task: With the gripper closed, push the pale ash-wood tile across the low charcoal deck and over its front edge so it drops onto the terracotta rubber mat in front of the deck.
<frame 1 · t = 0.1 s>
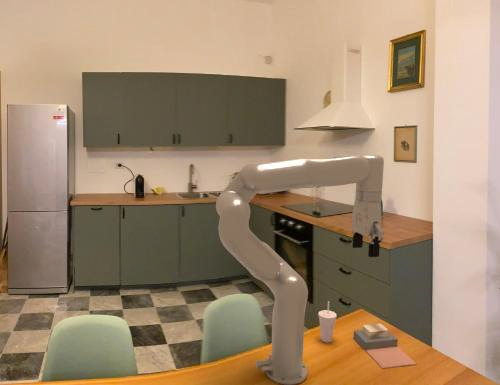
hand: (365, 251, 119), 37 cm above the table, tool pointing down, fingers open, 9 cm apart
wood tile: (375, 331, 137), point 4 cm above the table, touching deck
smoothie: (326, 340, 139), on the table
mat: (390, 357, 128), on the table
deck: (374, 342, 137), on the table
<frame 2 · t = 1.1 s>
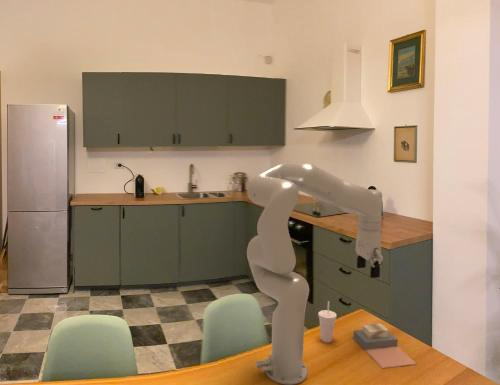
hand: (367, 272, 138), 24 cm above the table, tool pointing down, fingers open, 9 cm apart
nothing on the table moved.
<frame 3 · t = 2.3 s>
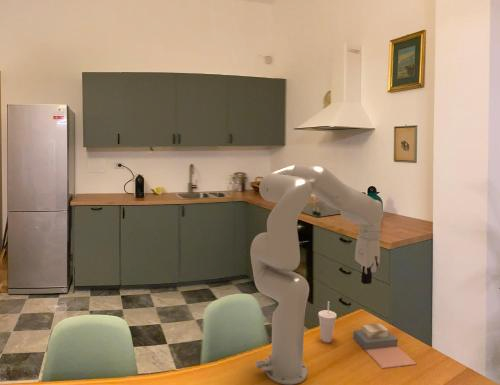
hand: (366, 282, 143), 19 cm above the table, tool pointing down, fingers closed
nothing on the table moved.
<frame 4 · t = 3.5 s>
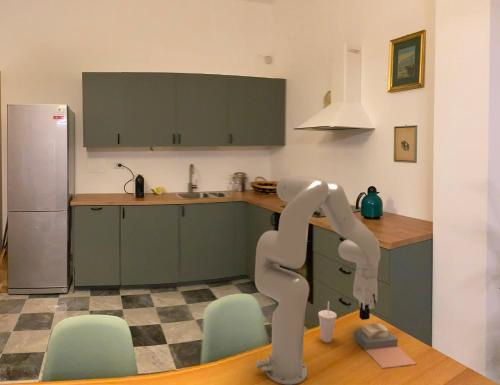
hand: (364, 318, 145), 5 cm above the table, tool pointing down, fingers closed
nothing on the table moved.
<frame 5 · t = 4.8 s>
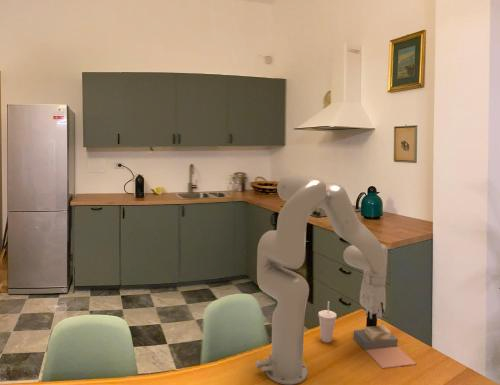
hand: (371, 327, 140), 4 cm above the table, tool pointing down, fingers closed
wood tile: (377, 333, 136), point 4 cm above the table, touching gripper
everything else where it was.
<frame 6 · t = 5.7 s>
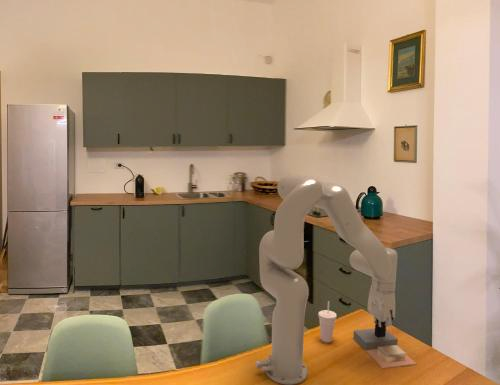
hand: (379, 335, 134), 4 cm above the table, tool pointing down, fingers closed
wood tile: (391, 353, 128), point 2 cm above the table, tilted 180°, touching mat
everything else where it was.
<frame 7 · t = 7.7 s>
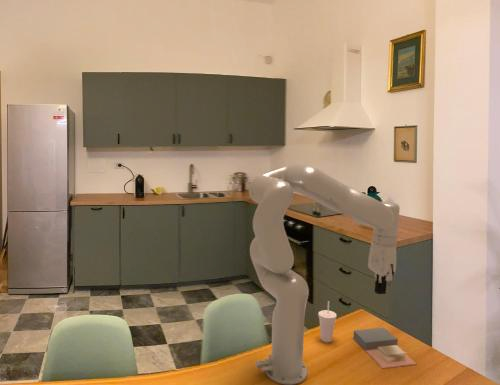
hand: (380, 292, 131), 20 cm above the table, tool pointing down, fingers closed
nothing on the table moved.
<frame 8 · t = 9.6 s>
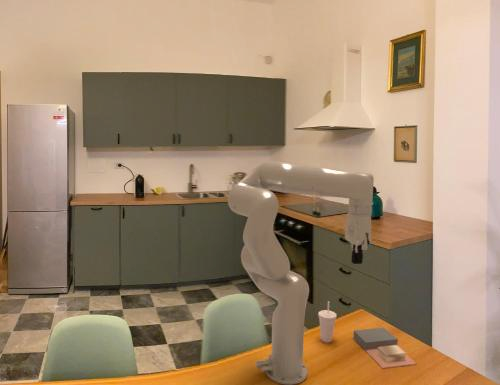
hand: (356, 262, 133), 29 cm above the table, tool pointing down, fingers closed
nothing on the table moved.
at the end: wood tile inside the target area on the mat (0.4 cm from its centre), point 1.6 cm above the mat's base; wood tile point 1.6 cm above the table; the gripper is holding nothing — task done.
